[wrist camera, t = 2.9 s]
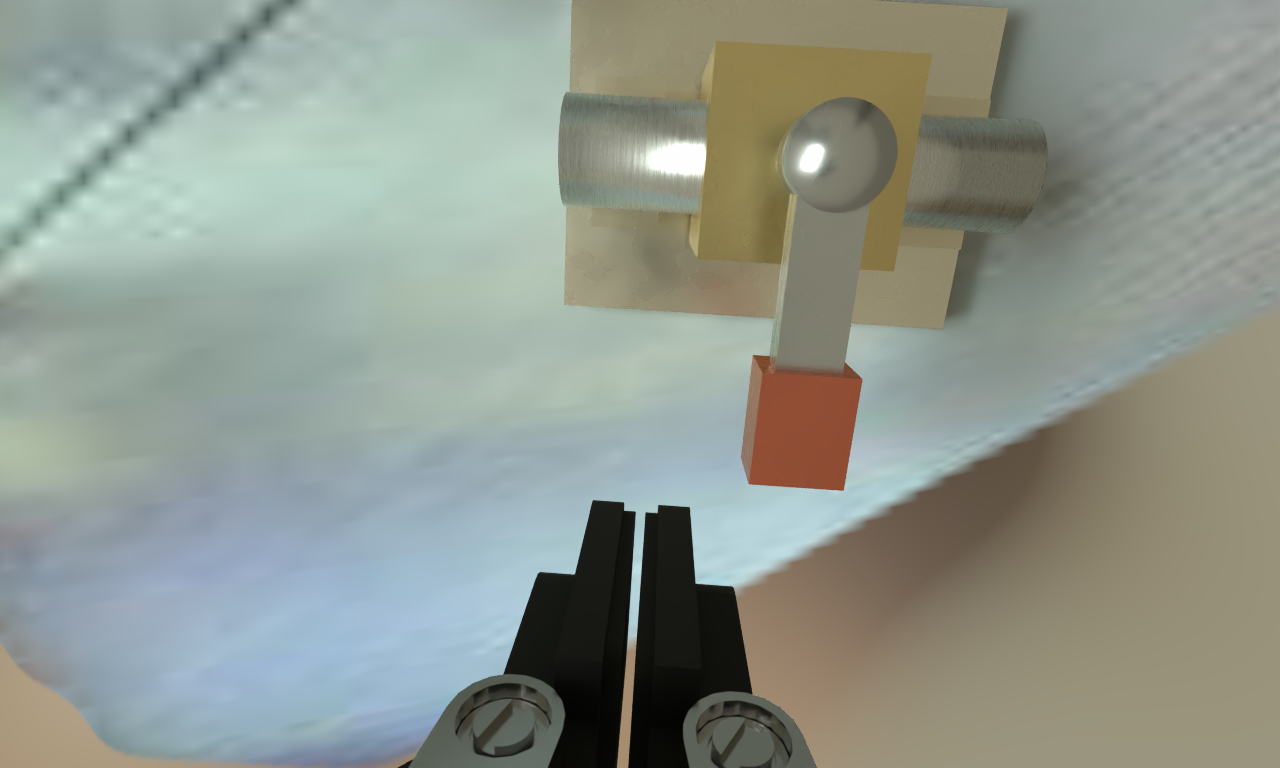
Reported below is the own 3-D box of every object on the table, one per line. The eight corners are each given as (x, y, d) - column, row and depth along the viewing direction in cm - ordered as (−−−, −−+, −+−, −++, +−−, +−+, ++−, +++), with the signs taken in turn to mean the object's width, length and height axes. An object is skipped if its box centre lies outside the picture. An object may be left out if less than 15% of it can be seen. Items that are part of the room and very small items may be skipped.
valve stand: (577, -7, 25) (522, -132, 15) (988, 18, 25) (1208, -93, 15) (568, 298, 29) (520, 359, 19) (928, 321, 29) (1073, 396, 19)
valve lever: (782, 102, 17) (796, 92, 15) (884, 108, 16) (910, 99, 15) (741, 457, 19) (748, 484, 18) (827, 463, 19) (843, 490, 18)
